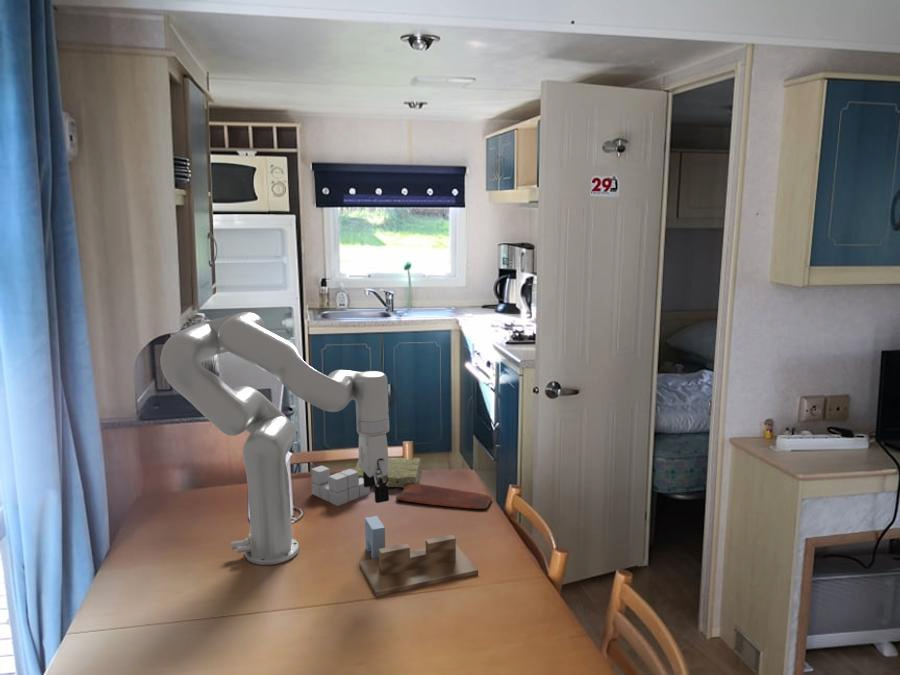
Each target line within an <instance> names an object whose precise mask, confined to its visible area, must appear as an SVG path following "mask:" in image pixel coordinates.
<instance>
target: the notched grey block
mask: <svg viewBox="0 0 900 675" xmlns="http://www.w3.org/2000/svg"><path fill="white" fill-rule="evenodd" d="M364 524H365V533H364V535H365V549H366V551H367V552H371V554H370V555H371V558H370V559H374V558H379V549H381V548H386V528H385V526H384V524H383V522H382V521H381V520H380V518H379V517H378V515H374V516H368V517H364Z"/></svg>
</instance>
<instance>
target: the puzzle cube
mask: <svg viewBox="0 0 900 675" xmlns="http://www.w3.org/2000/svg"><path fill="white" fill-rule="evenodd" d="M310 472H311V473H310V474H311V476H310V477H311V492H312V493H311V494H312V495H314V496H316V497H317V498H320V499H322V500H324V501H326V502H328V503H330V504H332V505H335V506H337V507H339V506H341V505H344V504H347V503H349V502H352V501H354V500H356V499H359V498H362V497H364V496H366V495H369V494H371V487H364V479H363V478H359V473H358V472H357V471H355V469H352V468H348V469H345V470H342V471H340V472H336V473H333V474H331V469H330V468H329V467H326V466H324V465H319V466H316V467H313V468H311V469H310Z"/></svg>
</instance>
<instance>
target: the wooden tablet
mask: <svg viewBox="0 0 900 675" xmlns="http://www.w3.org/2000/svg"><path fill="white" fill-rule="evenodd" d="M395 499H396V500H398V501H403V502H410V503H417V504H426V505H434V506H443V507H452V508H465V509H479V510H480V509H487V508H488V507H489V505H490V504H491V501H492V496H491V495H487V494H484V493H480V492H474V491H466V490H462V489H461V490H460V489H457V488H456V489H455V488H450V487H443V486H437V485H429V484H421V483H417V484H411V483H409V484H406V485H405V486H404V487H403V490H402V491H401V492H399V493H398V494H397V495H396V496H395Z"/></svg>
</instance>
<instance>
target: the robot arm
mask: <svg viewBox="0 0 900 675" xmlns="http://www.w3.org/2000/svg"><path fill="white" fill-rule="evenodd" d="M228 352H229V353H230V354H232V355H234V356H236V357H238V358H239V359H241V360H244V361H246V362H248V363H250V364H251V365H254V366H255V367H257V368H259V369H261V370H262V371H264V372H267V373H268V374H269V375H272V376H274V377H275V378H276V379H277V381H279V383H280V384H282V386H284V387H286V389H287V390H289V392H290V393H291V394H293V395H294V396H296V397H297V398H298V399H301V400H303V401H304V402H306V403H308V404H309V405H312V406H313V407H316V408H317V409H320V410H322V411H325V412H329V413H337V412H340V411H342V410H345V408H346V407H347V406H348V405H349V403H350V402H351V401H355V414H356V415H355V416H356V432H357V434H358V460H359V465H360V467H361V468H362V470H363V479H364V487H370V488H371V487H374V488H373V489H374V502H375V503H376V504H379V503H385V502H389V501H390V494H389V492H390V491H389V490H390V489H389V488H390V487H388V472H389V460H388V458H389V451H388V450H389V446H388V440H387V439H388V437H387V434H388V433H389V432H390V416H389V413H390V412H389V394H388V392H389V389H388V386H389V385H388V384H389V383H388V376H387V375H386V374H385V373H384V372H382V371H377V370H373V371H372V370H367V371H355V370H349V369H348V370H347V369H336V370H334V371H331V372H330V373H329V374H328V375H326V374H324V373H322V372H320V371H318V370H317V369H315V368H314V367H312V366H310V365H309V364H308V363H307V362H306V361H304V359H303V358H302V356H301V354H300V353H299V350H298V348H297V347H296V346H295V344H293V342H291V341H290V340H287V339H285V338H283V337H282V336H279V335H277V334H276V333H274V332H272V331H270V330H268V329H267V327H266V324H265V321H264V320H263V319H262V317H260V316H259V315H258V314H256V313H254V312H250V311H243V312H239V313H234V314H232V315H228V316H224V317H220V318H215V319H211V320H207V321H202V322H198V323H195V324H193V325H191V326H188V327H187V328H184V329H182V330H179V331H177V332H176V333H174V334H172V335H171V336H170V337H169V338H168V339H167V340H166V342H164V344H163V346H162V349H161V352H160V359H159V360H160V361H159V362H160V368H161V372H162V375H163V377H164V379H165V380H166V381H167V383H168V384H169V385H170V386H171V387H172V388H173V389H174V390H175V391H176V392H178V393H179V394H180V395H181V396H182V397H183V398H185V399H186V400H187V401H188V402H189V403H190V404H191V405H193V407H195V409H196V410H197V411H199V412H200V414H202V415H203V417H205V418H206V420H208V421H209V422H210V423H211V424H212V425H213V426H215V427H216V428H217V429H218V430H219V431H220V432H221V433H223V434H224V435H226V436H227V435H228V436H232V437H233V436H239V435H241V434H242V433H244V432H245V431H247V432H248V433H249V435H248V437H247V438H246V440H245V443H244V445H243V449H242V459H243V464H244V469H245V473H246V483H247V495H248V506H249V507H248V510H249V525H250V526H249V527H250V532H249V533H248V537H247V538H246V537H245V538H244V540H243V539H242V540H235V541H231V542H230V546H231V551H235V550H237V553H238V554H241V553H243V552H244V554H245V556H244V557H245V558H246V560H247V561H248V562H251V563H252V564H255V565H261V566H262V565H263V566H271V565H277V564H280V563H284V562H286V561H289V560H291V559H292V558H294V557H295V556H296V555H297V554H298V552H299V551H300V550H299V549H300V544H299V542H298V541H297V540H296V539H295V538H294V537H293V535H292V534H293V533H292V515H291V495H290V494H291V492H290V479H289V478H290V477H289V471H288V468H287V462H286V460H287V459H286V458H287V454H288V453H289V451H290V450H291V448H292V447H293V445H294V444H295V441H296V436H297V433H296V432H297V431H296V428H295V426H294V424H293V422H292V421H291V420H290V419H289V418H288V416H286V415H285V414H284V413H283V412H282V411H281V410H280V409H279V408H278V407H277V406H276V405H275V404H274V403H273V402H272V401H270V400H269V399H268V398H267V397H266V396H265V395H264V394H263V393H262V392H260V391H259V390H257V389H256V388H253V387H251V386H246V385H241V386H237V387H233V388H232V387H230V386H229V385H228V384H226V383H225V382H224V381H223V380H222V378H220V376H218V375H217V374H215V373H214V372H213V371H210V370H208V369H207V368H206V367H204V366H203V364H202V362H204V361H206V360H208V359H209V358H211V357H213V356H216V355H220V354H225V353H228ZM378 471H380V473H377V472H378ZM379 476H381V478H380V479H379V481H378V477H379Z"/></svg>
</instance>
